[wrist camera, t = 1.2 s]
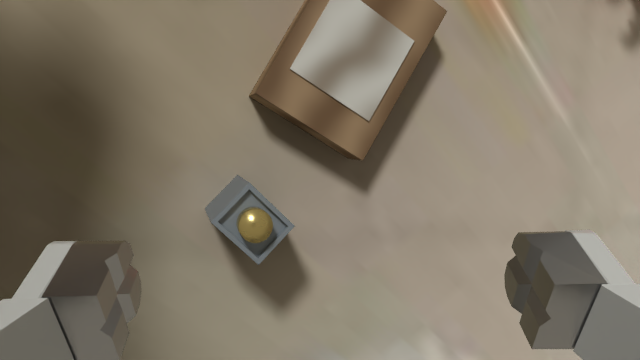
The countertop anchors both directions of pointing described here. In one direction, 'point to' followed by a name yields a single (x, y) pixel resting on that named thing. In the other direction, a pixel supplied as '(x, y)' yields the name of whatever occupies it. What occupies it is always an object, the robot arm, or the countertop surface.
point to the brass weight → (254, 224)
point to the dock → (346, 67)
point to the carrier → (232, 204)
